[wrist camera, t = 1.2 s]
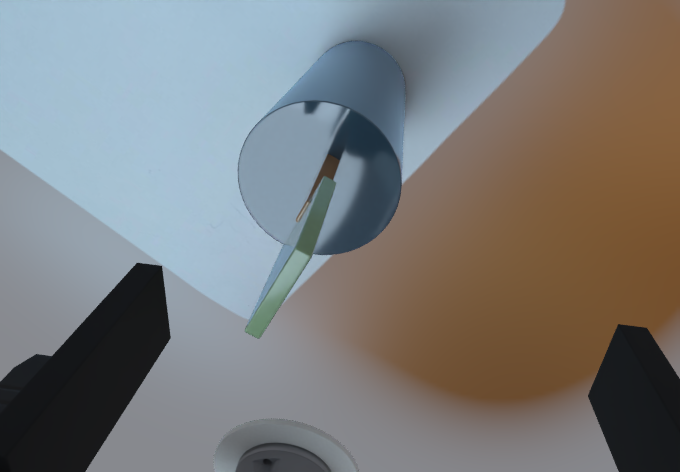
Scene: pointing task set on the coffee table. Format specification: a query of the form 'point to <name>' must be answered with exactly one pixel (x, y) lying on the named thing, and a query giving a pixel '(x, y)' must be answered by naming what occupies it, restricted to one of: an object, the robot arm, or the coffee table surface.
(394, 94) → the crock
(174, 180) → the coffee table surface
